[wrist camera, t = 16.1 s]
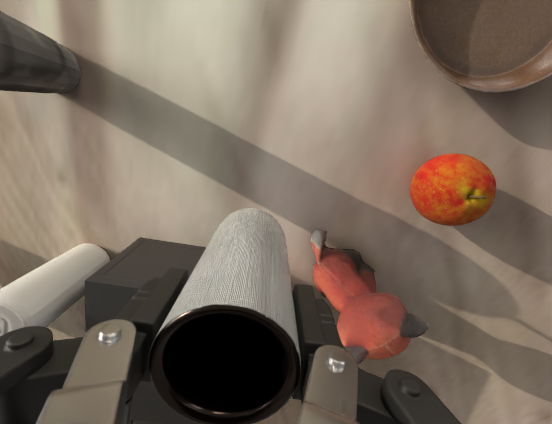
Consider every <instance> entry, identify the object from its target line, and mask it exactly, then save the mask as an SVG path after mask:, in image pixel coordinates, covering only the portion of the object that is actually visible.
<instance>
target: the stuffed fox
mask: <svg viewBox="0 0 552 424" xmlns="http://www.w3.org/2000/svg"><path fill="white" fill-rule="evenodd" d="M326 233H327V231H322V230H317V229H316V230H315V232H314V234H313V235H312V237H311V243H310V244H311V245H312V247H313V249H312V250H313V251H314V253H315V257H316V265H314V268H313V279H314V283H315V286H316V287H317V289H318V290H319V292H320V293H321V294H322V296H323V297H326V298H328V300H329V301H330V302H331V304H332V305H333V306H334V308H335V309H336V310H337V311H339V312H340V313H341V314H340V316H339V320H338V324H337V330H338V333H339V336H340V339H341V342H342V345H343V346H344V347H345V350H346V351H348V352H349V353H350V354H351V355H352V356H353V357H354V358H355V360H356V362H357V364H358V363H360V362H362V361H363V359H364V358H368V359H384V358H389V357H393V356H395V355H397V354H399V353H401V352H402V351H404V350H405V349H406V347H407V346H408V344H409V342H410V339H411V338H414V337H418V336H420V335H422V334H424V333H425V332H426V330H427V329H428V327H429V326H428V324H427V323H426V322H424V321H422V320H420V319H419V318H418V317H416V316H415V315H413V314H411V313H408V311H407V310H406V309H405V307H404V305H403V303H402V301H401V300H400V299H399V298H398V297H397V296H395V295H392V294H387V293H376V282H375V277H374V271H375V270H374V271H373V268H372V267H370V266H369V265H368V264H366V263H365V262H363V260H362V258H361V256H360V254H359V252H356V251H355V250H353V249H352V250H348V249H343V250H341V249H333V248H328V247H326V246H325V241H326Z"/></svg>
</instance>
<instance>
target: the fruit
mask: <svg viewBox="0 0 552 424" xmlns="http://www.w3.org/2000/svg"><path fill="white" fill-rule="evenodd" d="M495 193H496V181H495V178H494V176H493V174H492V172H491V171H490V169H489V168H488V167H487V166H486V165H485V164H483V163H482V162H481V161H479V160H477V159H476V158H473V157H471V156H468V155H463V154H445V155H440V156H437V157H435V158H433V159H430V160H429V161H427V162H426V163H424V164H423V165H422V166H421V167H420V168H419V169H418V170H417V172H416V173H415V175H414V177H413V179H412V181H411V185H410V196H411V200H412V202H413V205H414V206H415V208H416V210H417V211H418V212H419V213H420V214H421V215H422V216H424V217H425V218H426V219H428V220H430V221H432V222H434V223H438V224H441V225H448V226H456V225H463V224H466V223H470V222H472V221H474V220H476V219H478V218H480V217H481V216H482V215H484V214H485V213H486V212H487V211H488V209H489V208H490V206H491V205H492V203H493V200H494V197H495Z"/></svg>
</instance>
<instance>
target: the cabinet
mask: <svg viewBox="0 0 552 424" xmlns="http://www.w3.org/2000/svg"><path fill="white" fill-rule="evenodd" d="M205 249H206V247H199V246H192V245H186V244H179V243H173V242H166V241H159V240H153V239H146V238H139V239H137V240H136V241H135V242H134V243H132V244H131V245H130V246H129V247H127V248H126V249H125V250H123V251H122V252H121V253H119V254H118V255H117V256H116V257H114V258H113V259H112V260H110V261H109V262H108V263H107V264H105V265H104V266H103V267H101V268H100V269H99V270H97V271H96V272H95V273H94V274H92V275H91V276H89V277H88V278H87V279H86V280H85V319H86V332H87V331H88V330H89V329H90V328H92V327H93V326H95V325H97V324H99V323H101V322H104V321H108V320H114V318H115V317H116V316H117V315H118V314H119V312H120V311H121V310H122V309H123V308H124V307H125V305H126V304H127V303H128V302H129V301H130V300H131V299H132V298H133V296H134V295H135V294H136V292H138V290H139V289H140V288H141V287H142V285H143V284H144V283H146V282H147V281H149V280H151V279H153V278H155V277H157V278H162V277H163V276H164V275H165V273H166V272H167V271H168V270H169V268H179V269H187V270H188V271H189V277H190V275H191V274H192V272H193V270H194V268H195V267H196V265H197V263H198V261H199V260H200V258H201V256H202V254H203V253H204V251H205ZM131 420H136V421H144V422H152V423H160V424H200V423H197V422H195V421H192V420H190V419H188V418H186V417H184V416H182V415H180V414H179V413H177V412H176V411H175V410H173V409H172V408H171V407H170V406H168V405H167V404H166V403H165V401H164V400H163V399H162V398H161V397H160V395H159V394H158V392H157V391H156V389H155V387H154V385H153V382H152V381H151V382H142V381H140V383H139V385H138V387H137V389H136V390H135V392H134V404H133V411H132V418H131Z"/></svg>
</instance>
